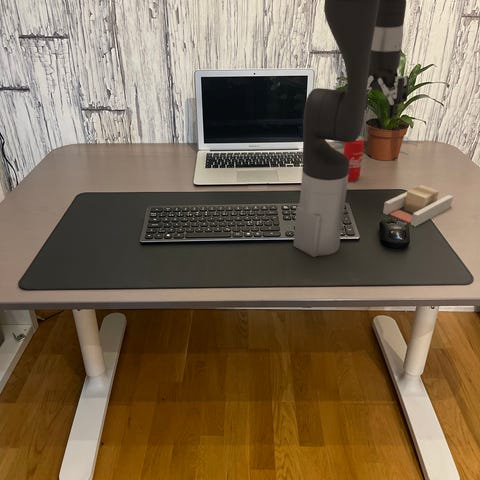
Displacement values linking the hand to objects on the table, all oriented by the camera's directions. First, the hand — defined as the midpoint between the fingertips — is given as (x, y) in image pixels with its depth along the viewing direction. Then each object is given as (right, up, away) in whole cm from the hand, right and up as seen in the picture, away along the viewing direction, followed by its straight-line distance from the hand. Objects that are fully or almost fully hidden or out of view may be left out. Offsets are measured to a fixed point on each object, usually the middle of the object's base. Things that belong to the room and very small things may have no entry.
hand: (376, 114), depth 122 cm
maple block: (+11, -23, +2) cm, 26 cm away
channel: (+10, -24, +1) cm, 26 cm away
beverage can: (-3, -14, +18) cm, 23 cm away
